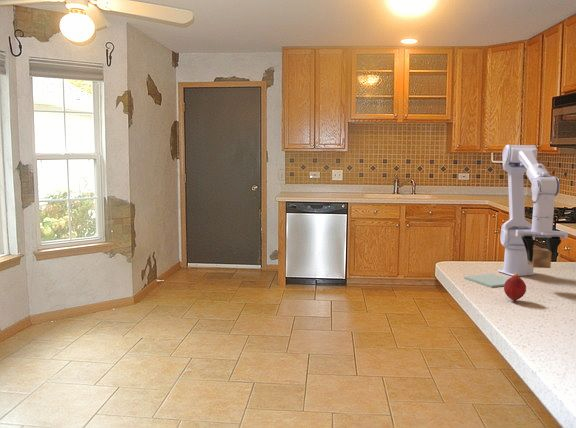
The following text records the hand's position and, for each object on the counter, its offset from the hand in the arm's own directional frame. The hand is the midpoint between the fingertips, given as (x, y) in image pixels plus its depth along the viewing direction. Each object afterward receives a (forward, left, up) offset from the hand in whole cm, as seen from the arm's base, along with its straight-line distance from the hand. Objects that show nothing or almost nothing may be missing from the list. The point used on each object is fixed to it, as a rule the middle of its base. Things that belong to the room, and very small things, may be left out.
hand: (539, 260), depth 165 cm
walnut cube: (0, 0, -2) cm, 2 cm away
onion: (+17, +7, -9) cm, 20 cm away
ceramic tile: (+6, -12, -9) cm, 16 cm away
